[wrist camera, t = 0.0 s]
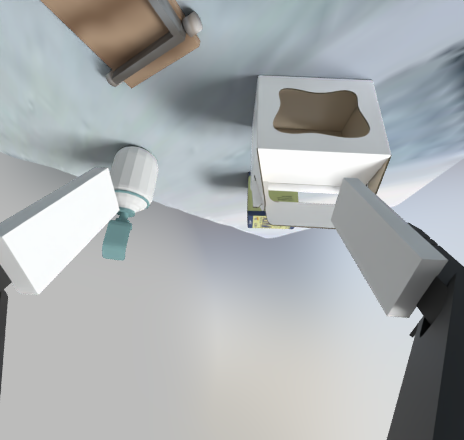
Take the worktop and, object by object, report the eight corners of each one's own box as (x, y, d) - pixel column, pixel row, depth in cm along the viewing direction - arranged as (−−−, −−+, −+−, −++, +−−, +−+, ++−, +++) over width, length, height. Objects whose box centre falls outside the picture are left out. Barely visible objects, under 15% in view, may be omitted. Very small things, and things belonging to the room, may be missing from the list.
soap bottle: (117, 161, 72) (89, 259, 61) (115, 136, 62) (79, 248, 50) (158, 171, 76) (138, 265, 65) (162, 149, 66) (140, 256, 54)
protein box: (291, 188, 82) (293, 229, 76) (248, 187, 83) (246, 228, 77) (297, 171, 72) (300, 217, 66) (247, 171, 73) (246, 215, 67)
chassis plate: (-17, -50, 30) (-32, -34, 29) (68, -215, 20) (52, -205, 19) (126, 87, 48) (122, 101, 46) (209, 34, 38) (207, 50, 36)
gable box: (251, 126, 56) (247, 235, 45) (256, 74, 44) (253, 207, 33) (342, 131, 55) (360, 242, 45) (374, 79, 43) (409, 215, 33)
